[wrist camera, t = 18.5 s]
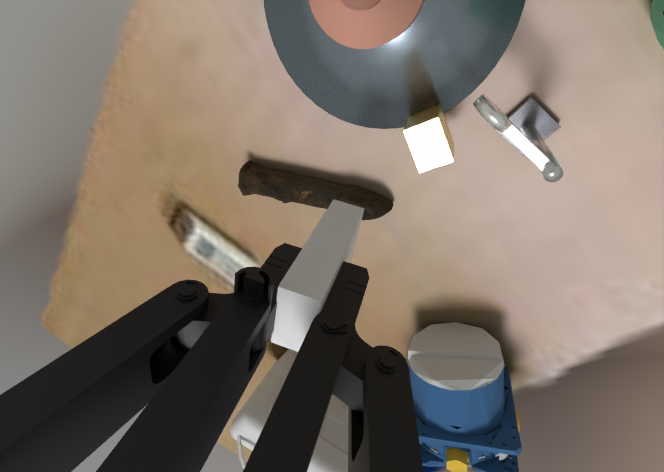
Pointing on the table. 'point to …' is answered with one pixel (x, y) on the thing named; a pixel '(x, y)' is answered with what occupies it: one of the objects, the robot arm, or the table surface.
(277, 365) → the radio
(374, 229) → the table surface
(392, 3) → the cover
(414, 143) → the turntable
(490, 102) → the indicator stand
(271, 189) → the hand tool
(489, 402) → the valve
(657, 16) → the mug
